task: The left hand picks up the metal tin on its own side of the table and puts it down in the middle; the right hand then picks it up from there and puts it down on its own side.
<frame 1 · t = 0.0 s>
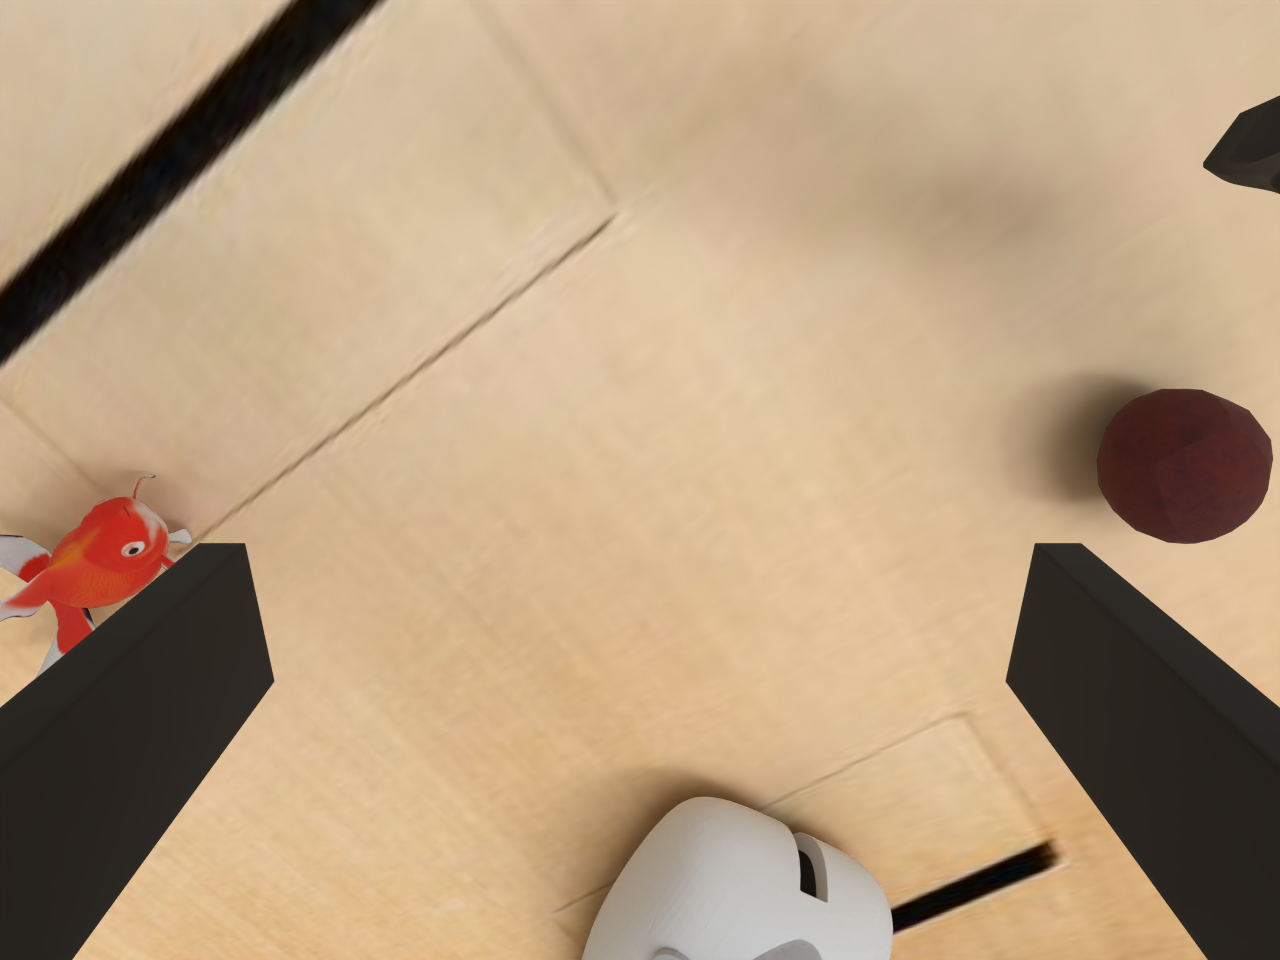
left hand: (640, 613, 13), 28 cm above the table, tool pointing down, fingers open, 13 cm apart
projector: (704, 903, 54), on the table
fish: (133, 562, 44), on the table
dark red ball: (1135, 439, 41), on the table
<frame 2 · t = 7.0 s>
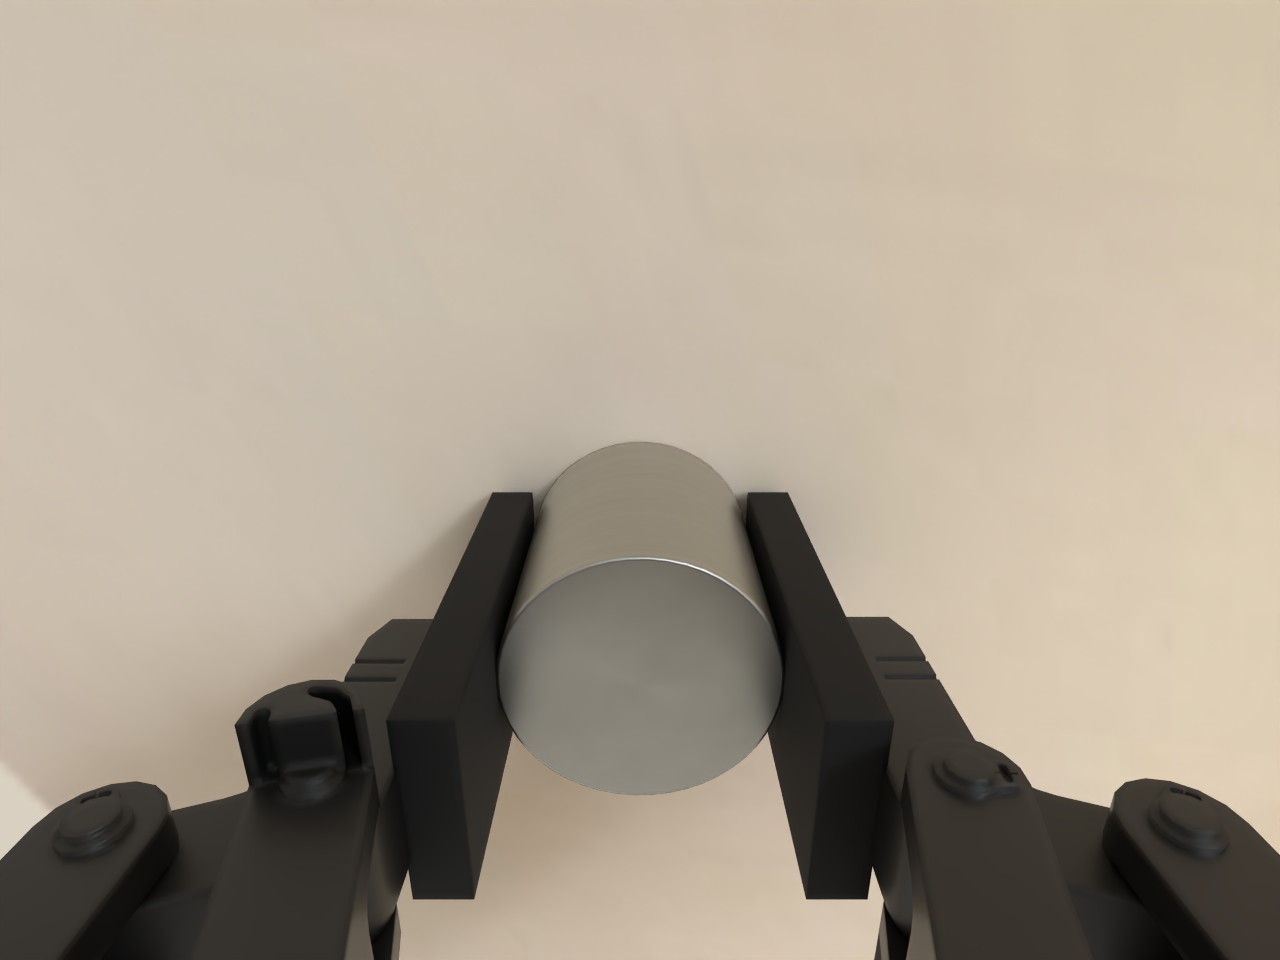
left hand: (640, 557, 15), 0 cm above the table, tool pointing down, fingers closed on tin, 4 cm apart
tin: (640, 539, 15), on the table, touching left hand
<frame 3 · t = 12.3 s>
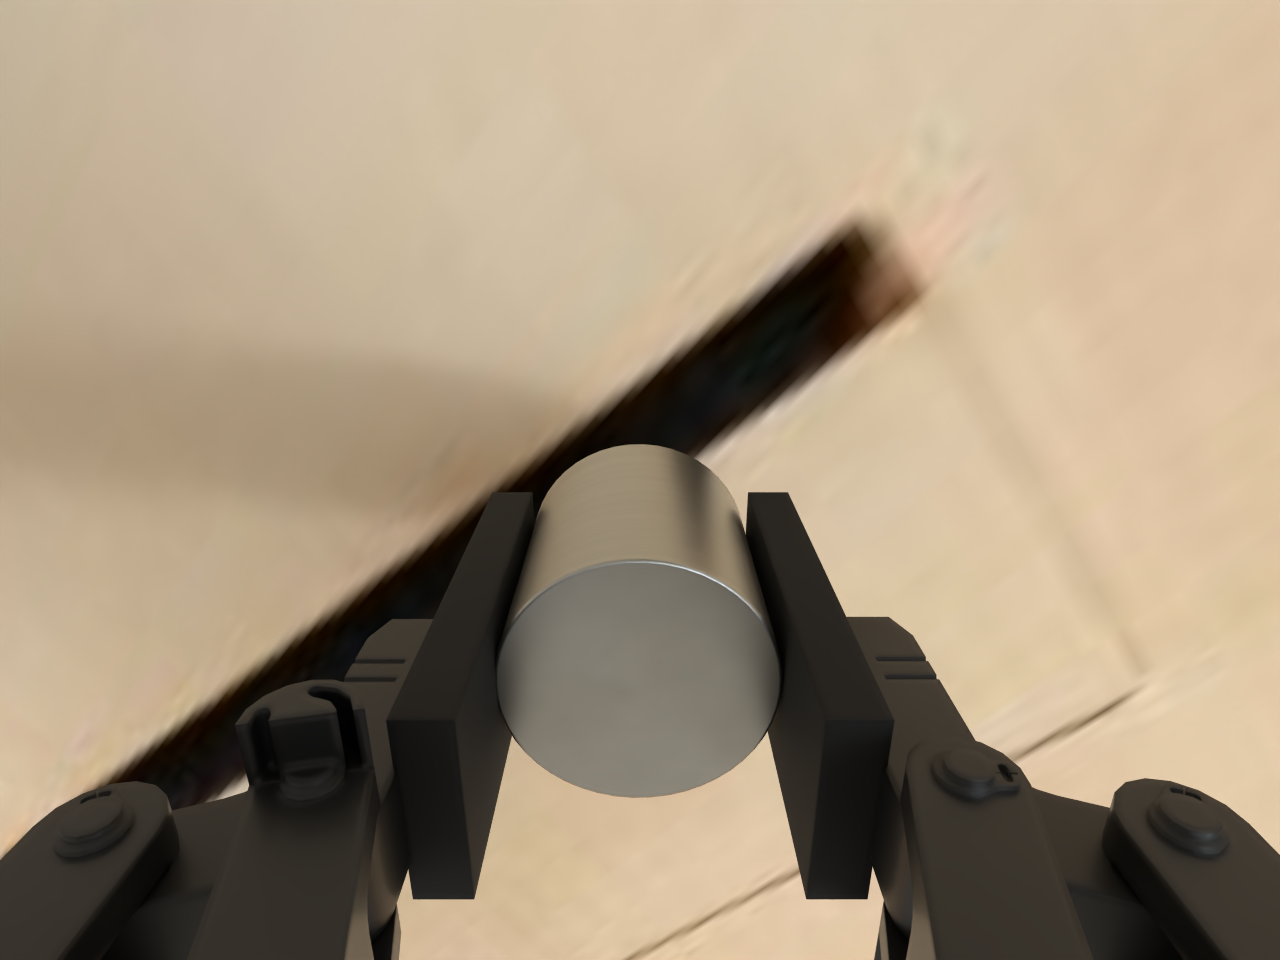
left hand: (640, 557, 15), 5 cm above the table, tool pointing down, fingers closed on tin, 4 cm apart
tin: (638, 541, 15), point 4 cm above the table, touching left hand
when the left hand's fingers open (1 cm above the table, at t = 18.0 s): tin stays where it is, on the table.
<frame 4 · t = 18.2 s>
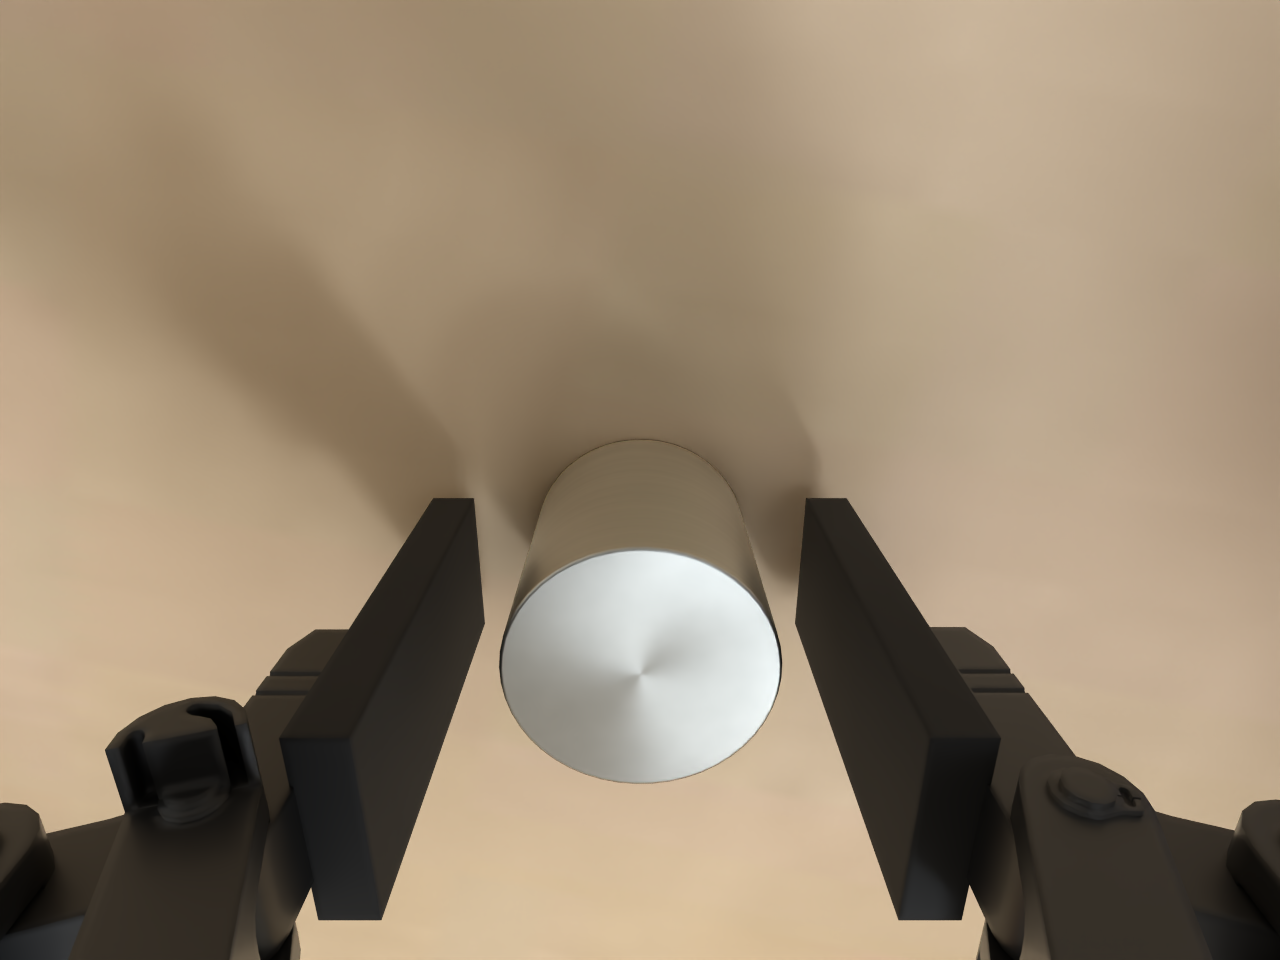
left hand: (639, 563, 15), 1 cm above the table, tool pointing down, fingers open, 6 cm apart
tin: (640, 535, 15), on the table
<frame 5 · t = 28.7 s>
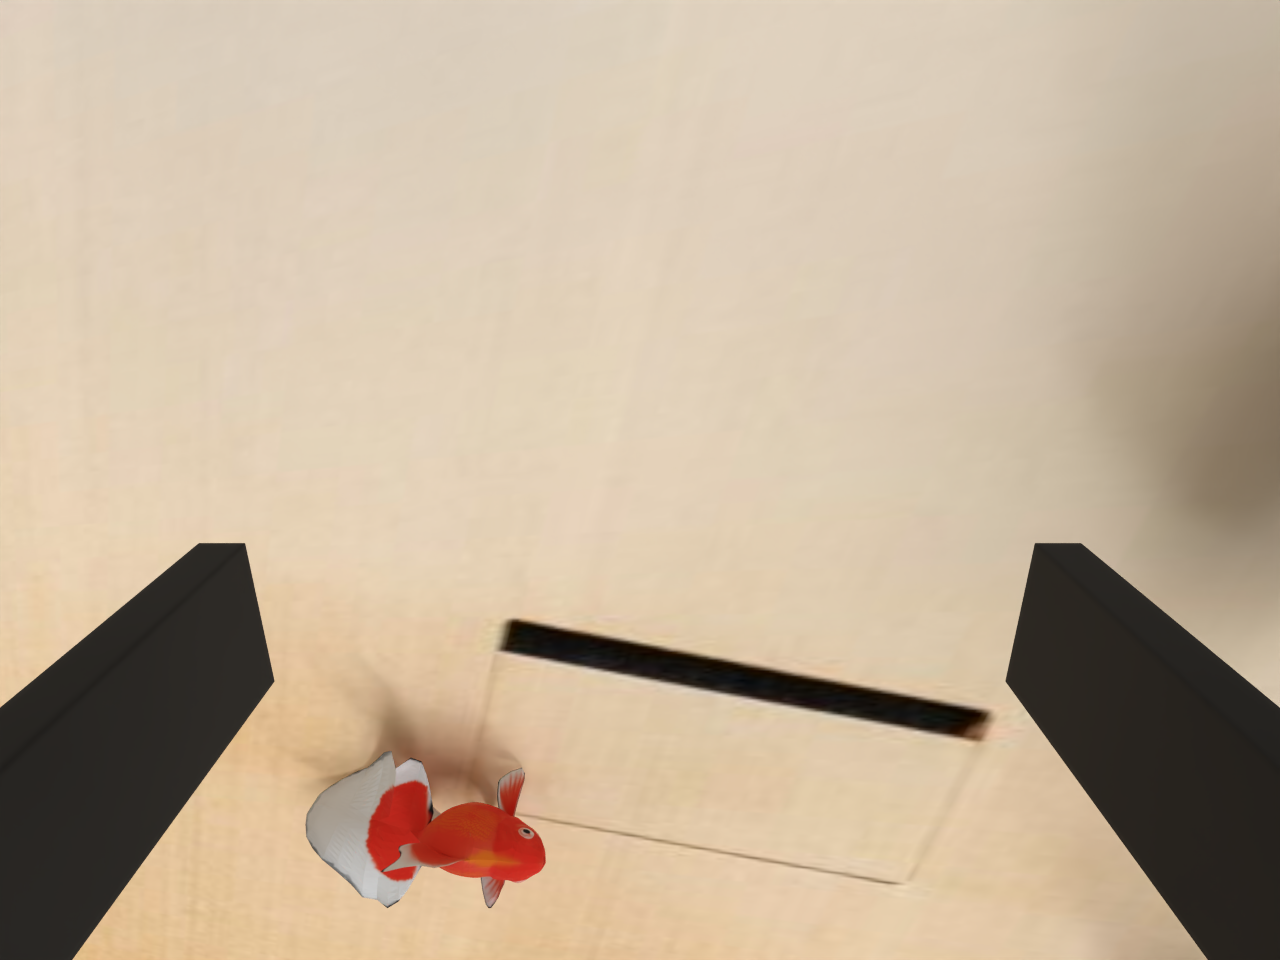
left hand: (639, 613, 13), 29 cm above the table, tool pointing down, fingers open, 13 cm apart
fish: (438, 786, 52), on the table
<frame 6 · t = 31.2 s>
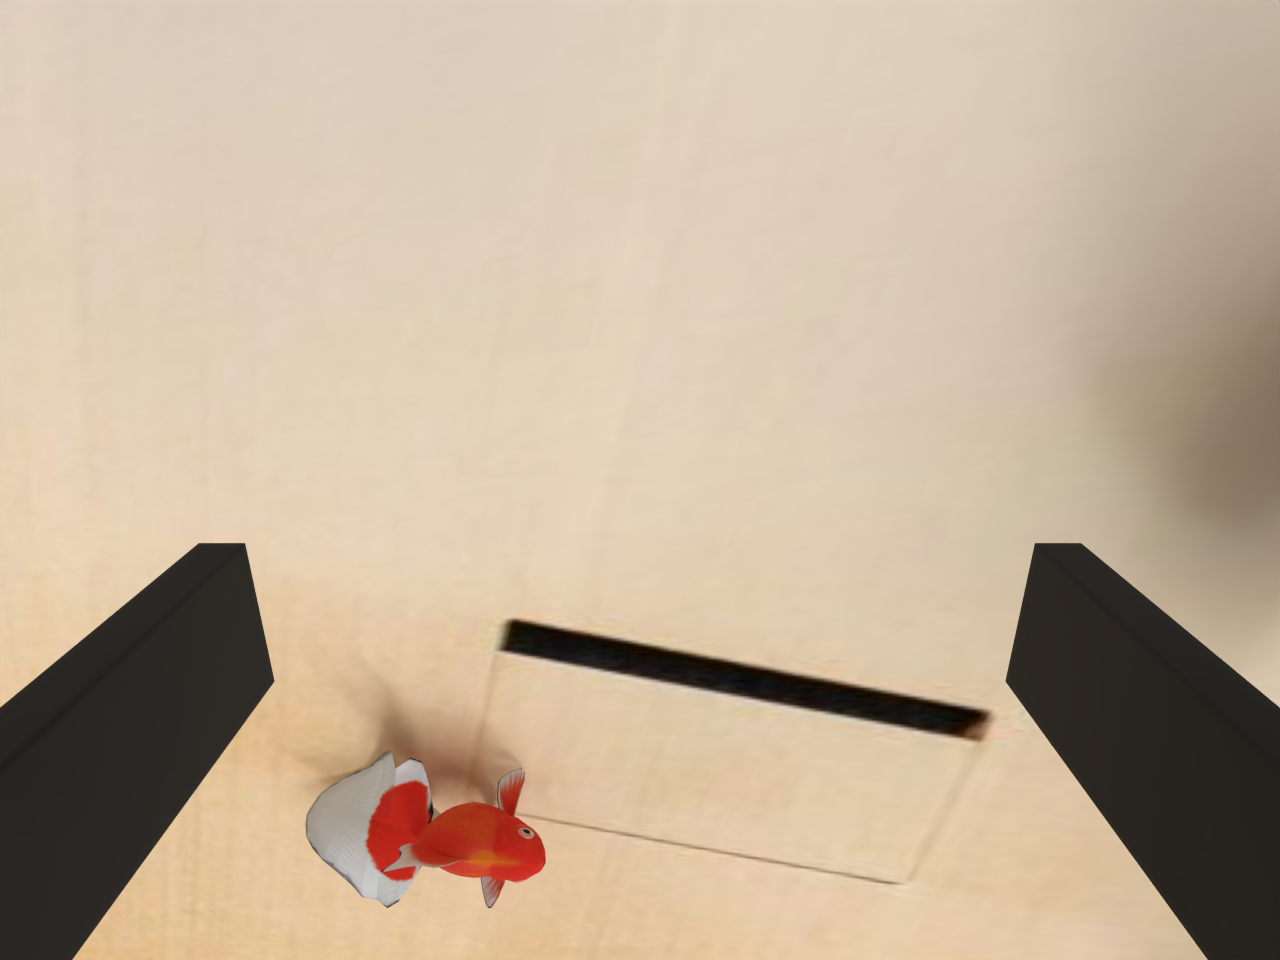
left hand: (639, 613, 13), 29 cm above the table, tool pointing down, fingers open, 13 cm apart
fish: (438, 786, 52), on the table
when the right hand's fingers open (2 cm above the table, at t = 33.8 s): tin stays where it is, on the table.
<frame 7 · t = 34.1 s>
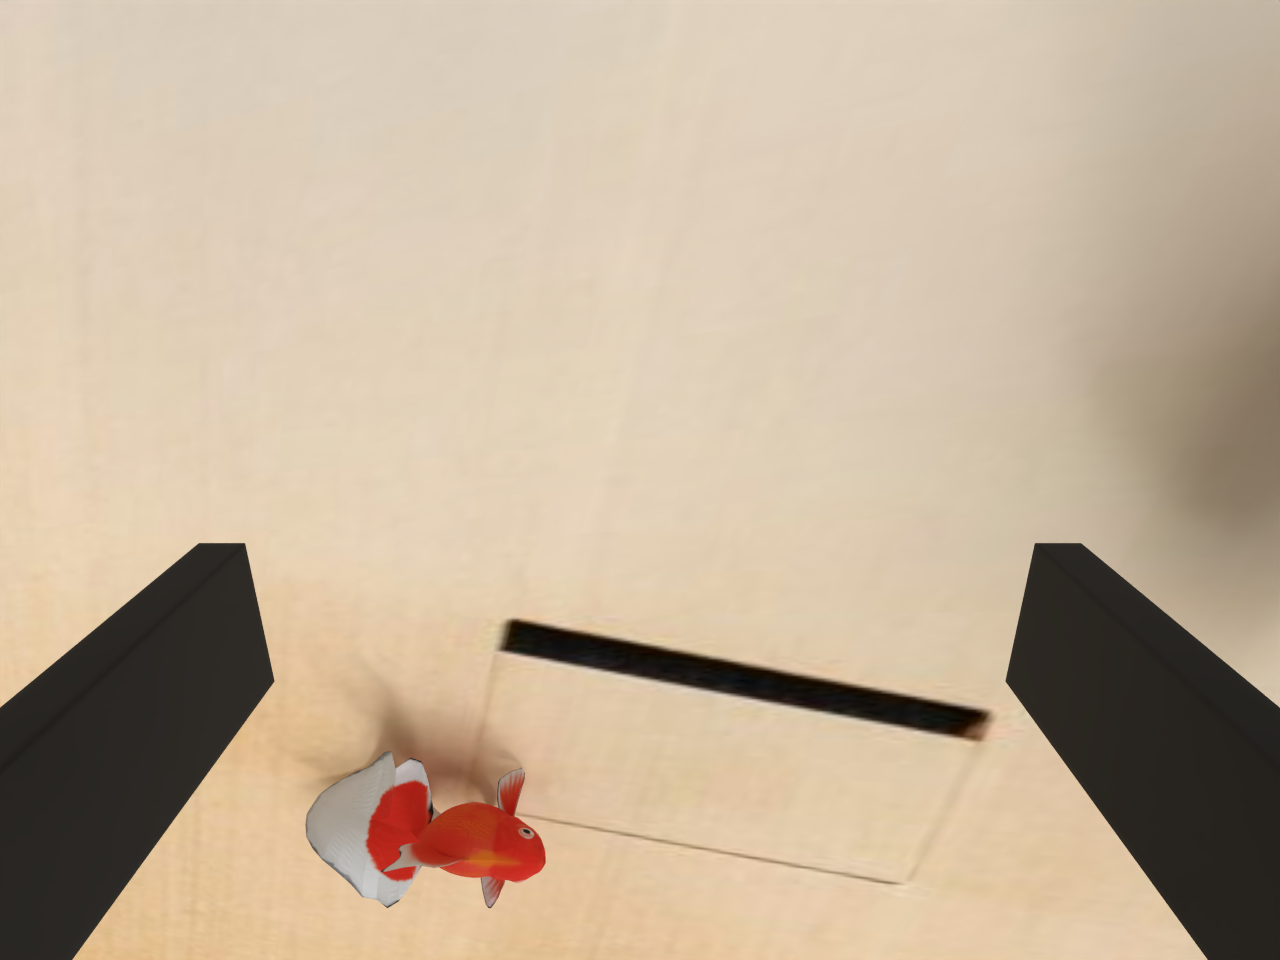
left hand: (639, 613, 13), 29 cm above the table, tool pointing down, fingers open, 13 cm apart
fish: (438, 786, 52), on the table
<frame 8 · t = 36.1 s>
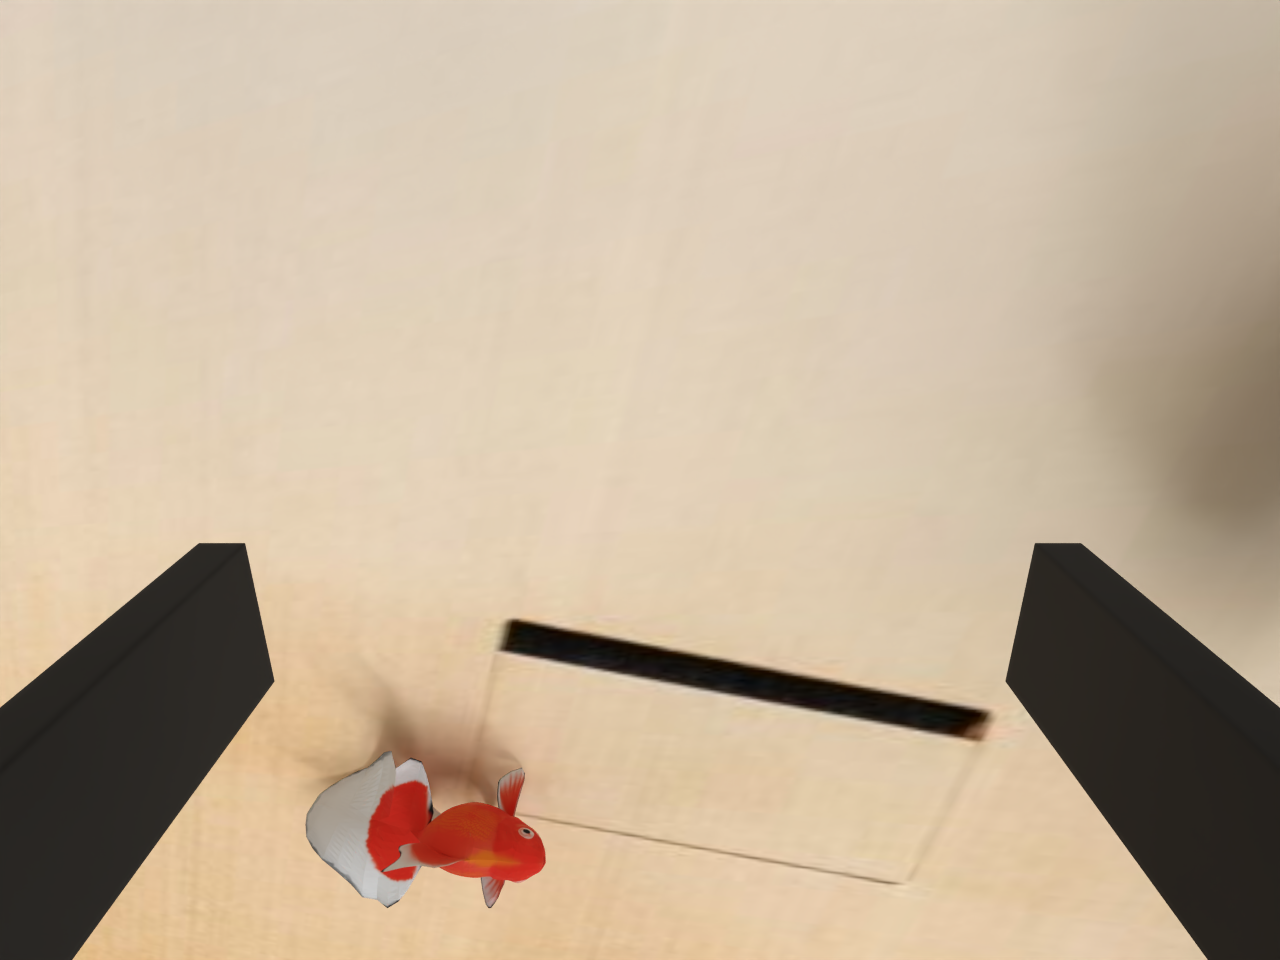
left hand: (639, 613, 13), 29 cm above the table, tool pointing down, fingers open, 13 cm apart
fish: (438, 786, 52), on the table
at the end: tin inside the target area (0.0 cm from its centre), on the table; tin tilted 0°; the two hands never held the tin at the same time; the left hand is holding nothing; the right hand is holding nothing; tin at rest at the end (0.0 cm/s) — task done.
